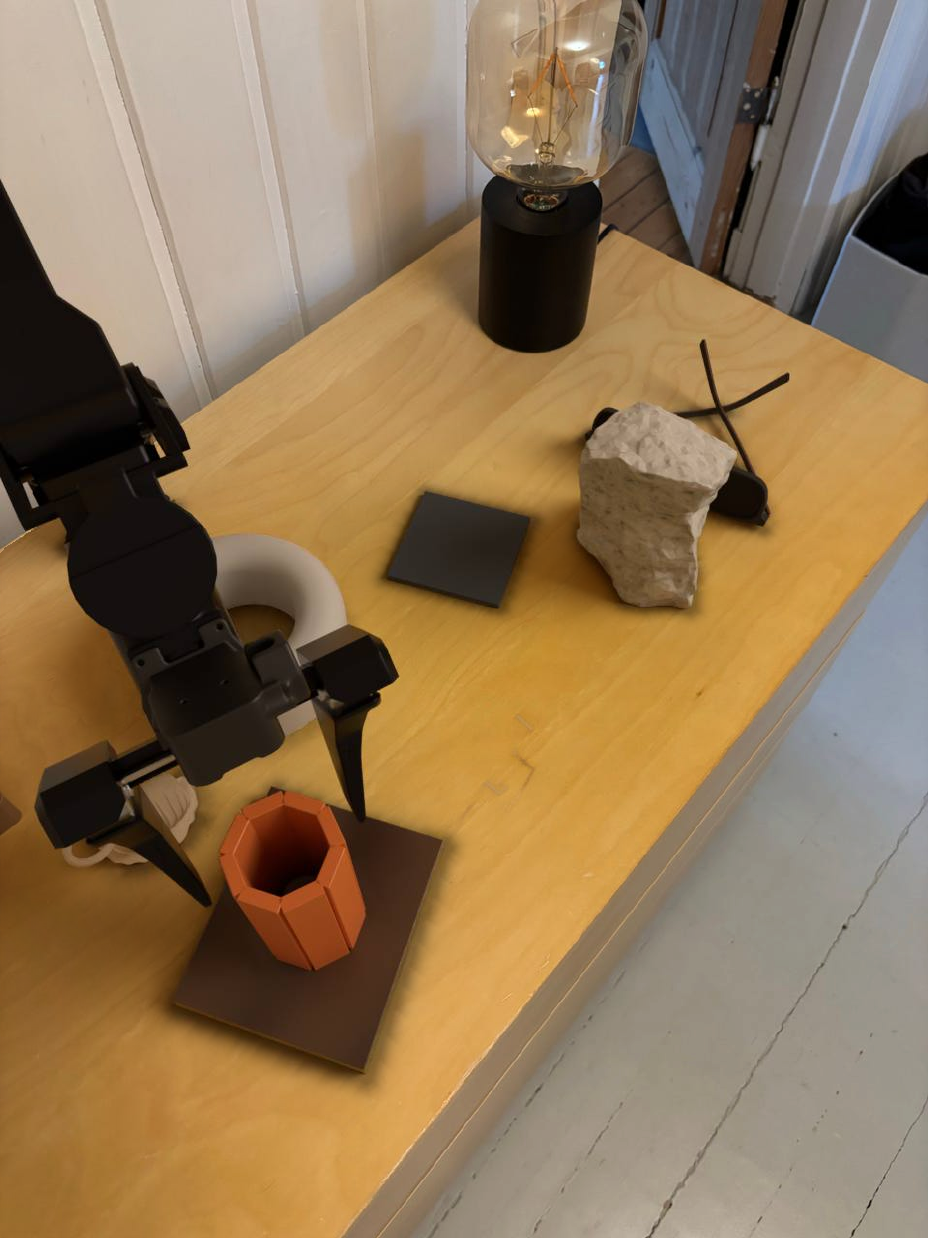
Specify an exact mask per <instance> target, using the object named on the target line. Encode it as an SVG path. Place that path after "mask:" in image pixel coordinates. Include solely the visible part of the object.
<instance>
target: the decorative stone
mask: <svg viewBox="0 0 928 1238" xmlns="http://www.w3.org/2000/svg"><path fill="white" fill-rule="evenodd" d="M673 413H674V412H671V411H669V410H666V409H664V408H663V407H662V406H661V405H656V404H654V403H650V402H647V401H642V400H639V401H638V402H636V403H635V404H632V405H631V406H628V407H627V408H624V409H621V410H619V411H618V412H616V413H614V414H613V415H612V416H611V417H610V418H609V419H608V420H607V421H606V422H605V423H604V424H602V425H601V426H599V427H598V428H596V429H595V431H594V433H593V435H592V436H591V438H590V439H589V440H588V441H586V442H585V445H584V448H583V449H582V451H581V452H580V453H581V454H580V459H579V465H578V469H577V472H578V473H577V474H578V483H579V484H578V485H579V492H580V493H579V499H580V504H579V505H580V506H579V515H578V522H579V528H578V529H577V530H576V532H575V533H576V538H577V540H578V542H579V544H580V545H581V546H582V547H583V548H584V549H585V550H586V551H587V553H589V554H590V555H592V556H593V557H594V558H595V560H597V561H598V562H599V564H600V565H601V567H602V568H603V569H604V571H605V572H606V574H607V575H608V576H609V577H610V578H611V584H612V586H613V588H614V589H615V591H616V592H617V594H618V596H619V598H620V599H621V601H623V602H625V604H629V605H633V606H636V607H638V608H653V607H660V606H663V607H665V606H667V607H668V606H671V607H675V608H679V609H683V610H686V609H688V608H689V609H690V607H692V605H693V601H694V594H695V593H696V591H697V590H698V589H697V588H698V587H697V582H698V571H699V563H698V545H697V544H698V539H699V538H700V536H701V535H702V530H703V528H704V525H705V524H706V520H707V514H708V512H709V511H710V510H709V504H710V503H711V502H712V501H713V500H714V499H715V498H716V496H717V492H718V490H719V489H720V488H721V487H722V486H723V485H724V484H725V482H726V481H727V479H728V477H729V472H730V471H731V469H732V466H734V463H735V462H736V460H737V458H738V452H737V451H736V450H735V449H733V448H732V447H731V446H730V445H729V444H728V443H727V442H726V441H723V440H720V439H718V438H717V437H715V436H714V435H711V434H709V433H707V432H706V431H704V430H702V429H701V428H699V427H698V426H697V425H696V424H695V423H694V422H693V421H691V420H689V419H686V418H681V417H679V416H677V415H675V414H673Z"/></svg>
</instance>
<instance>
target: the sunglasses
mask: <svg viewBox="0 0 928 1238" xmlns="http://www.w3.org/2000/svg"><path fill="white" fill-rule="evenodd" d="M699 351H700V355H701V358H702V363H703V366H704V367H703V368H704V370H705V375H706V379H707V384H708V387H709V391H710V395H711V398H712V401H713V403H714V406H715V407H708V408H700V409H692V410H684V411H677V412H672V413H673V414H675V415H677V416H679V417H681V418H684V419H686V418H694V417H700V416H701V417H702V416H708V415H717V414H719V417H720V418H721V420H722V422H723V425H724V426H725V427H726V429H727V431H728V433H729V435H730V437H731V439H732V441H733V442H734V445H735V447H736V449H737V451H738V453H739V456H740V458H741V459H742V462H743V464H744V466H745V469H746V470H745V469H743V468H740V467H738V466H734V465H733V466H732V469H731V471H730V472H729V477H728V479H727V481H726V482H725V484H724V485H723V486H722V487H721V488H720V489H719V490H718V492H717V496H716V498H715V499H714V500H713V501H712V502H711V503H710V504H709V510H708V511H711V512H713V513H714V514H718V515H721V516H723V517H726V518H730V519H731V520H736V521H739V522H743V523H747V524H751V525H755V526H759V527H765V525H766V523H767V521H768V520H769V518H770V516H771V514H772V513H771V511H770V507H769V505H768V500H769V489H768V486H767V484H766V483H765V481H764V480H763V479H762V478H761V477H759V476H757V474H756V472H755V468H754V467H753V464H752V463H751V460H750V458H749V455H748V454H747V451H746V450H745V448H744V445H743V444H742V441H741V439H740V438H739V435H738V433H737V432H736V429H735V428H734V426H733V424H732V422H731V419H729V417H728V415H727V412H731V411H733V410H736V409H739V408H741V407H744V406H746V405H748V404H750V403H751V402H753V401H755V400H757V399H759V398H761V397H763V396H765V395H766V394H769V393H770V392H772V391H774V390H776V389H778V388H780V387H782V386H783V385H786V384H787V383H788V382H790V372H785V373H783V374H781V375H780V376H778V377H777V378H775V379H773V380H772V381H770V382H769V383H767V384H765V385H763V386H761V387H760V388H758V389H757V390H754V391H753V392H751V393H749V394H748V395H746V396H744V397H742V398H741V399H738V400H737V401H735V402H732V403H729V404H725V405H722V403H721V400H720V397H719V395H718V390H717V387H716V383H715V377H714V374H713V370H712V369H713V368H712V364H711V359H710V354H709V350H708V346H707V341H706V339H705V338H703V339H701V341H700V343H699ZM618 411H620V410H619V409H617V408H614V407H610V406H608V407H604V408H602V409H601V410H600V411H599V412H598V413H597V414H596V416H595V417H594V419H593V422H592V424H591V430H590V429H589V430H588V431H586V433H585V434H584V440H585V441H586V442H587V441H588V440H589V439H590V438H591V436H592V435H593V433H594V431H595V429H596V428H598V427H599V426H601V425H602V424H604V423H605V422H606V421H607V420H608V419H609V418H610V417H611V416H612V415H613V414H614V413H616V412H618Z"/></svg>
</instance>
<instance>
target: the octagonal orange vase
mask: <svg viewBox="0 0 928 1238" xmlns="http://www.w3.org/2000/svg"><path fill="white" fill-rule="evenodd" d="M285 791H286V792H285V794H284V796H283V794H282V792H281V791H279V792H277V793H275V794H273V795H270V796H268V797H266V796H265V797H264V798H262V799H260V800H257V801H255V802H253V803H251V804H249V805H246V806H244V807H241V808H240V809H241V813H236V815H235V816H234V819H233V821H232V823H231V825H230V827H229V829H228V831H227V833H226V835H225V837H224V840H223V841H222V844H221V846H220V848H219V850H218V853H219V855H220V856H219V857H218V863H219V864H220V868H221V869H222V872H223V875H224V877H225V880H226V882H227V883H228V886H229V888H230V891H231V894H232V896H233V897H234V899H235V900H236V902H237V903H238V905H239V906H240V907H241V909H242V910H243V912H244V913H245V915H246V916H247V918H248V919H249V921H250V922H251V923H252V925H253V926H254V928H255V929H256V931H257V932H258V934H259V935H260V936H261V938H262V939H263V941H264V942H265V944H266V945H267V947H268V948H269V950H270V951H271V952H272V954H273V955H275V957H276V958H277V959H278V960H281V961H283V962H286V963H289V964H292V965H295V966H298V967H301V968H304V969H307V970H309V971H311V970H312V967H314V969H315V970H318V969H320V968H322V967H324V966H326V965H328V964H329V963H331V962H333V961H335V960H337V959H339V958H341V957H343V956H345V955H347V954H349V950H348V948H350V949H353V948H354V945H355V943H356V940H357V937H358V935H359V932H360V929H361V927H362V924H363V921H364V919H365V916H366V914H365V910H366V908H365V905H364V902H363V898H362V895H361V892H360V888H359V885H358V882H357V878H356V875H355V872H354V868H353V865H352V862H351V858H350V855H349V852H348V848H347V845H346V842H345V839H344V837H343V835H342V833H341V831H340V828H339V826H338V824H337V822H336V820H335V818H334V815H333V813H332V811H331V809H330V807H329V806H327V807H326V805H325V803H326V802H325V801H322V800H318V799H316V798H312V797H308V796H306V795H303V794H299V793H296V792H293V791H290V790H285ZM302 875H311V876H315V877H317V879H316V881H314V882H312V883H309V884H307V885H305V886H303V887H301V888H299V889H297V890H295V891H293V892H291V893H289V894H287V895H285V896H283V897H282V894H283V891H284V889H285V887H286V886H287V884H288V883H289V882H290V881H291V880H293V879H294V878H296V877H299V876H302Z"/></svg>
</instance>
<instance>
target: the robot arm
mask: <svg viewBox="0 0 928 1238" xmlns="http://www.w3.org/2000/svg"><path fill="white" fill-rule="evenodd" d="M25 228H26V227H25V226H24V224H23V222H22V221H21V218H20V216H19V214H18V212H17V210H16V208H15V205H14V203H13V202H12V200H11V197H10V196H9V194H8V191H7V189H6V187H5V185H4V183H3V181H2V179H1V178H0V481H1V483H2V485H3V487H4V490H5V492H6V494H7V496H8V499H9V501H10V503H11V505H12V507H13V510H14V513H15V514H16V517H17V519H18V522H19V523H20V525H21V526H22V529H23V530H24V531H25V532H28V531H30V530H33V529H36V528H38V527H42V526H44V525H46V524H48V523H51V522H53V521H56V520H59V521H60V522H61V524H62V526H63V528H64V530H65V532H66V533H65V536H64V542H63V547H64V549H65V551H66V553H67V561H66V569H67V570H66V571H67V579H68V584H69V588H70V591H71V593H72V595H73V597H74V599H75V601H76V602H77V604H78V605H79V606H80V608H81V609H82V610H83V612H84V613H85V615H87V617H89V618H90V619H91V620H93V621H94V622H95V623H96V624H97V625H98V626H100V627H102V628H104V629H106V631H107V633H108V635H109V637H110V639H111V641H112V643H113V644H114V647H115V649H116V650H117V653H118V655H119V656H120V658H121V661H122V662H123V664H124V667H125V668H126V670H127V673H128V674H129V677H130V678H131V680H132V682H133V683H134V686H135V687H136V689H137V691H138V694H139V696H140V702H141V708H142V711H143V714H144V716H145V717H146V719H147V721H148V723H149V725H150V727H151V729H152V731H153V733H154V736H152V737H150V738H148V739H146V740H144V741H142V742H140V743H138V744H135V745H134V746H131V747H130V748H127V749H125V750H123V751H121V752H119V753H117V751H116V750H115V748H114V746H112V744H111V743H110V742H109V740H108V739H107V738H106V739H104V740H102V741H100V742H97V743H96V744H93V745H92V746H90V747H87V748H85V749H83V750H81V751H79V752H77V753H74V754H73V755H71V756H68V757H66V758H64V759H62V760H60V761H57V762H56V763H54V764H52V765H50V766H47V767H46V768H44V769H43V773H42V775H41V777H40V781H39V783H38V787H37V790H36V791H37V792H36V798H35V801H34V806H33V808H34V811H35V814H36V816H37V820H38V822H39V824H40V826H41V827H42V829H43V831H44V833H45V835H46V836H47V838H48V840H49V841H50V843H51V845H52V847H53V849H54V850H62V848H67V847H69V846H71V845H72V846H73V845H74V844H76V843H78V842H80V841H83V840H85V844H86V846H88V847H89V848H90V849H91V850H97V849H99V848H100V847H102V846H104V845H106V844H110V843H112V844H116V845H119V846H122V847H125V848H128V849H130V850H132V851H134V852H136V853H137V854H139V855H140V856H142V857H143V858H145V859H147V860H148V861H147V862H149V863H151V864H152V865H154V866H155V867H156V868H157V869H159V870H160V871H161V872H163V874H165V875H166V876H167V877H168V878H169V879H170V880H172V881H173V882H174V883H175V884H176V885H178V886H179V887H180V888H181V889H182V890H183V891H184V892H185V893H187V894H188V895H189V896H191V898H192V899H194V900H195V901H196V902H197V903H198V904H199V905H201V906H202V907H203V908H204V909H208V908H210V907H212V906H213V901H212V897H211V895H210V894H209V891H208V889H207V887H206V885H205V883H204V881H203V879H202V877H201V875H200V873H199V871H198V870H197V868H196V867H195V865H194V864H193V862H192V860H191V859H190V857H189V856H188V854H187V853H186V851H185V850H184V848H183V846H181V843H178V841H177V840H176V838H175V837H174V835H173V834H172V832H171V831H170V829H169V828H168V826H167V825H166V823H165V822H164V820H163V819H162V817H161V816H160V814H159V813H158V811H157V810H156V808H155V807H154V805H153V804H152V802H151V801H150V799H149V798H148V796H147V795H146V793H145V792H144V790H143V789H142V787H141V785H142V784H144V783H145V782H147V781H149V780H151V779H153V778H155V777H158V776H160V775H163V774H164V773H166V772H168V771H170V770H172V769H174V768H176V767H179V769H180V771H181V772H182V774H183V777H184V778H185V779H187V781H188V783H189V784H190V785H192V786H193V787H194V788H196V787H197V788H201V787H208V786H210V785H212V784H214V783H217V782H219V781H221V780H222V779H223V777H224V776H225V774H227V773H229V772H230V771H232V770H234V769H236V768H239V767H240V766H243V765H245V764H247V763H248V762H250V761H252V760H254V759H257V758H259V759H263V758H266V757H268V756H270V755H272V754H273V753H275V752H277V751H278V750H279V749H280V748H281V747H282V746H283V745H284V742H285V739H286V737H285V734H284V732H283V729H282V727H281V725H280V722H279V720H278V718H277V717H278V716H280V715H282V714H284V713H286V712H288V711H290V710H291V709H294V708H296V707H297V706H299V705H301V704H303V703H305V702H307V701H309V700H311V702H312V705H313V708H314V711H315V714H316V719H317V722H318V725H319V729H320V731H321V733H322V736H323V739H324V742H325V745H326V748H327V751H328V753H329V756H330V759H331V762H332V765H333V768H334V771H335V773H336V776H337V779H338V782H339V785H340V788H341V791H342V794H343V796H344V798H345V799H346V802H347V804H348V806H349V808H350V811H352V812H353V814H354V816H355V818H356V819H357V821H358V822H359V823H360V824H362V823H364V822H365V821H366V816H367V810H366V797H365V786H364V785H365V784H364V772H363V771H364V770H363V759H362V758H363V756H362V753H363V751H362V750H363V749H362V748H363V747H362V746H363V733H364V732H363V731H364V727H365V723H366V720H367V716H368V713H369V712H370V711H372V710H373V709H375V708H377V707H378V706H380V705H381V704H382V695H381V693H380V692H379V691H380V690H382V689H384V688H387V687H388V686H390V685H392V684H394V683H395V682H396V681H397V680H398V679H399V678H400V675H399V672H398V670H397V668H396V665H395V663H394V660H393V659H392V656H391V654H390V651H389V649H388V648H387V646H386V645H385V644H386V643H384V641H383V639H382V638H380V637H379V636H376V635H375V634H373V633H371V632H370V631H369V632H368V631H366V630H364V629H363V628H361V627H358V626H355V625H353V624H350V623H348V624H347V625H345V626H343V627H341V628H339V629H337V630H335V631H333V632H331V633H328V634H326V635H324V636H322V637H320V638H318V639H316V640H314V641H312V642H310V643H308V644H305V645H303V646H301V647H299V648H297V649H295V650H296V654H297V657H298V661H299V663H300V665H301V666H299V664H298V662H297V660H296V658H295V656H294V654H293V651H292V649H291V647H290V645H289V643H288V641H287V640H288V639H287V638H286V636H285V635H284V634H283V632H282V631H281V630H280V629H276V630H274V631H271V632H270V633H268V634H265V635H262V636H260V637H259V638H257V639H255V640H252V641H250V642H248V643H246V644H245V645H244V643H243V641H242V638H241V636H240V634H239V632H238V630H237V628H236V626H235V623H234V622H233V620H232V617H231V615H230V613H229V611H228V610H227V609H226V607H225V605H224V603H223V600H222V598H221V596H220V594H219V592H218V590H217V588H216V586H215V583H216V578H217V556H216V553H215V549H214V546H213V542H212V540H211V538H212V537H211V536H210V534H209V532H208V531H207V528H205V527H204V525H203V524H202V523H201V522H200V521H199V520H198V519H197V518H196V517H195V516H194V515H193V514H192V513H191V512H190V511H188V510H187V509H185V508H183V507H182V506H181V505H179V504H178V503H177V501H176V499H171V497H170V496H169V494H166V493H165V492H164V490H163V488H162V486H161V484H160V481H159V479H160V478H163V477H165V476H168V475H170V474H173V473H175V472H178V471H180V470H183V469H185V468H187V467H189V463H188V461H187V459H186V457H185V455H184V453H185V452H187V451H189V450H192V448H191V445H190V443H189V440H188V437H187V434H186V432H185V429H184V428H183V426H182V425H181V423H180V421H179V419H178V418H177V416H176V414H175V413H174V411H173V410H172V407H171V406H170V405H169V402H168V401H167V399H166V398H165V395H163V393H162V391H161V390H160V388H159V386H158V384H157V383H156V381H155V380H154V379H151V378H149V377H147V376H145V375H143V373H142V371H141V368H140V367H139V365H135V364H134V362H132V361H130V362H127V363H125V364H122V365H121V364H120V362H119V359H118V358H117V356H116V354H115V351H114V349H113V348H112V346H111V344H110V341H109V340H108V338H107V335H106V333H105V331H104V330H103V327H102V326H101V325H100V323H99V322H97V321H96V320H95V319H93V318H92V317H90V316H89V315H87V314H86V313H85V312H83V311H81V310H80V309H79V308H77V307H75V305H73V304H71V303H70V302H68V301H67V300H66V299H64V298H62V296H60V295H58V294H57V292H56V289H55V288H54V285H53V284H52V282H51V280H50V278H49V276H48V274H47V272H46V270H45V268H44V267H45V266H44V265H43V263H42V261H41V259H40V257H39V255H38V253H37V251H36V248H35V247H34V244H33V243H32V241H31V239H30V236H29V234H28V232H27V230H26V229H25ZM154 439H155V440H156V442H157V444H158V446H159V447H160V449H161V451H162V452H163V454H164V456H160V454H159V452H158V450H157V447H156V444H155V442H154V441H155V440H154ZM26 483H27V485H28V487H29V488H30V490H31V492H32V495H33V498H34V499H35V501H36V503H37V506H35V507H33V506H32V504H31V500H30V498H29V496H28V493H27V491H26V488H25V486H24V484H26Z"/></svg>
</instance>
